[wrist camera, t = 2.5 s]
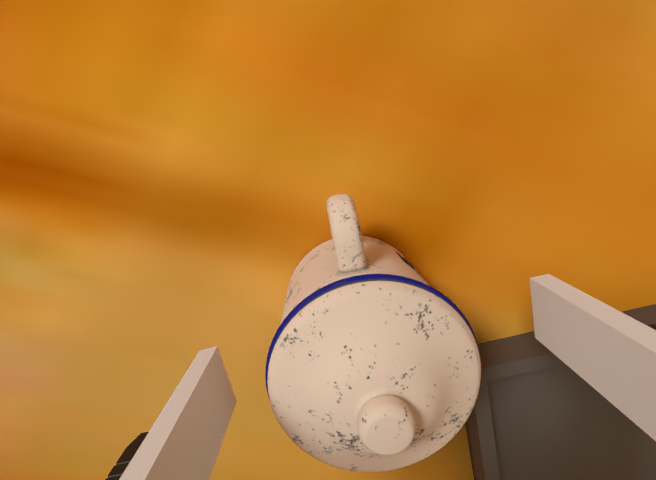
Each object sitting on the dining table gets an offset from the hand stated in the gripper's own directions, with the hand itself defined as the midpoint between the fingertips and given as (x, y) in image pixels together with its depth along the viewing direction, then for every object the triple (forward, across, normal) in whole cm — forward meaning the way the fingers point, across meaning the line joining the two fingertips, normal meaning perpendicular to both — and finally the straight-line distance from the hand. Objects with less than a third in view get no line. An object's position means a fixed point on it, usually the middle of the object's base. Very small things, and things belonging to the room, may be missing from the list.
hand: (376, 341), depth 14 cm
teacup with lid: (+9, 0, 0) cm, 9 cm away
